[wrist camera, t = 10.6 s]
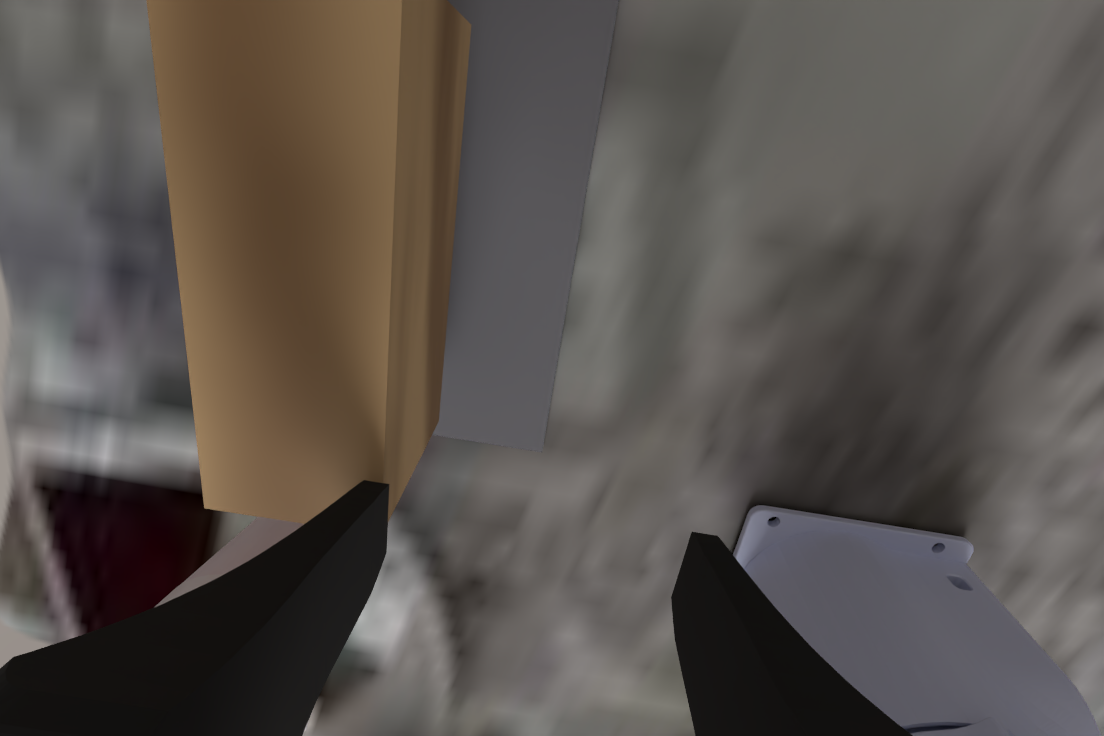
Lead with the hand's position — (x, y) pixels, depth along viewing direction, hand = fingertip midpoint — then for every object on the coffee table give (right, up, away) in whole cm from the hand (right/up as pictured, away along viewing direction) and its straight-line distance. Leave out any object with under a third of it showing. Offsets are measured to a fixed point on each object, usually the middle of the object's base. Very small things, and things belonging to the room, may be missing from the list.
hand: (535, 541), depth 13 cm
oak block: (-5, +8, +4) cm, 10 cm away
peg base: (-5, +9, +7) cm, 12 cm away
